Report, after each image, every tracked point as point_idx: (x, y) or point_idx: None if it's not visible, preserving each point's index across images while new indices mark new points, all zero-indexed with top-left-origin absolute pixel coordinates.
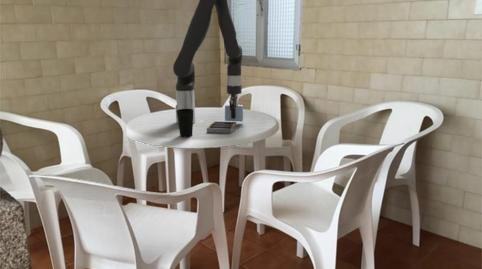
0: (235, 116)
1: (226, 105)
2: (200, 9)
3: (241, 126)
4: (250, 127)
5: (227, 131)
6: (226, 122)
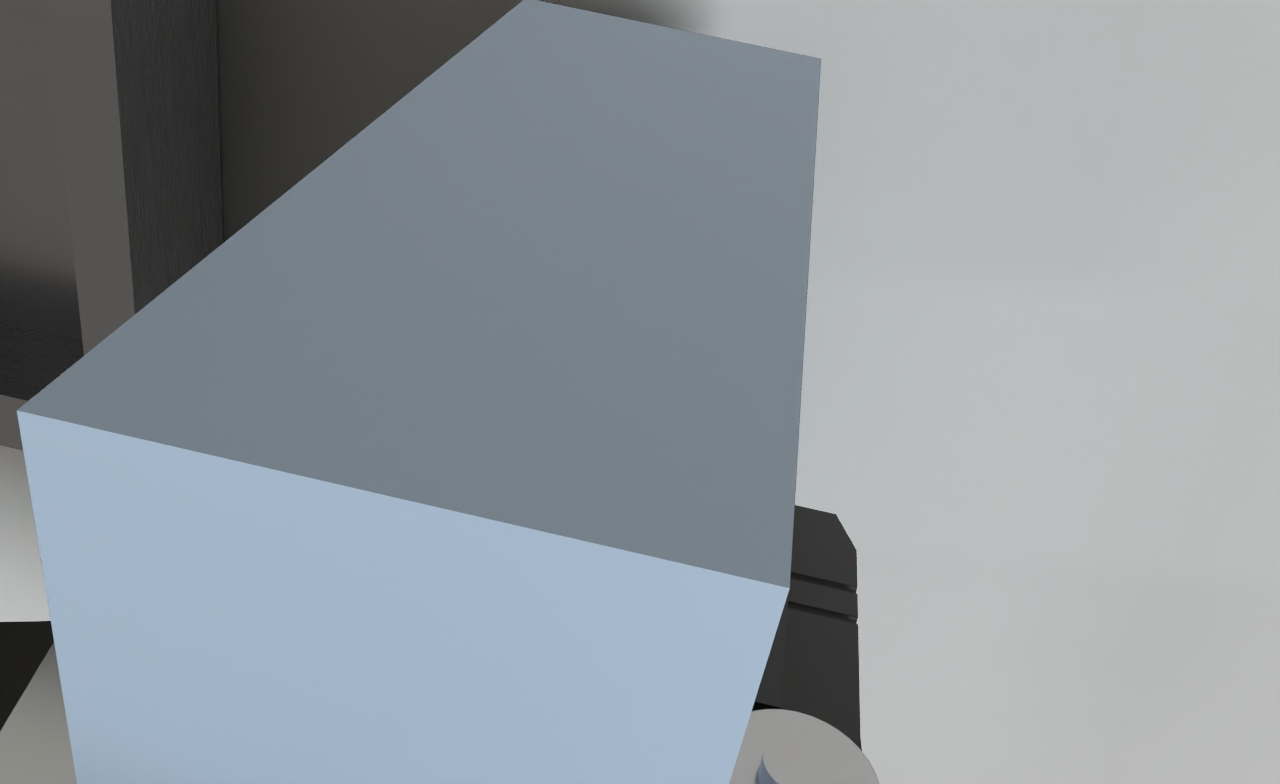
0: None
1: (96, 577)
2: None
3: None
4: None
5: None
6: (65, 83)
